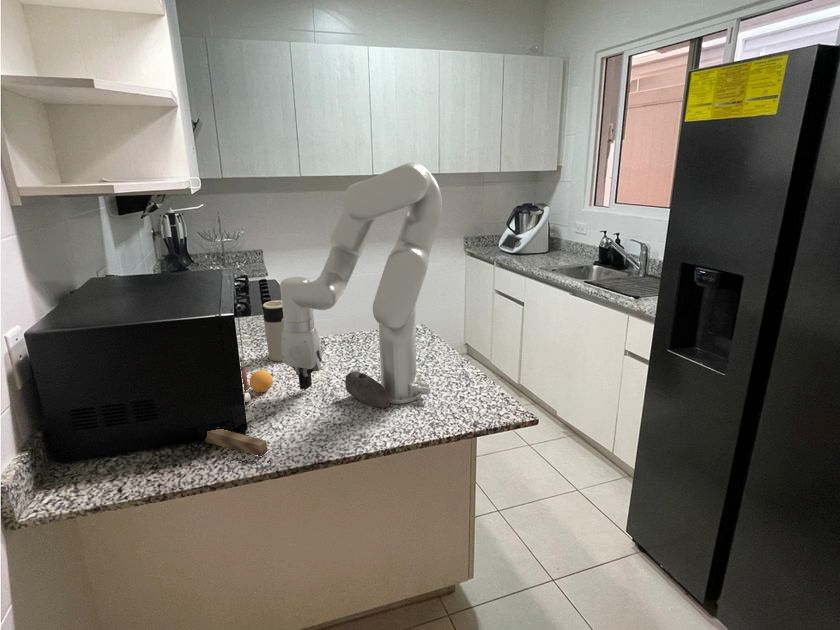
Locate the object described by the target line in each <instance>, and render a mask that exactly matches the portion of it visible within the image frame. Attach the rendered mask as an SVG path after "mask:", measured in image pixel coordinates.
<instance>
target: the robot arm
mask: <svg viewBox="0 0 840 630" xmlns="http://www.w3.org/2000/svg"><path fill="white" fill-rule="evenodd" d="M403 208H406V211H405V214H404V218H403V220H402V224H401V228H400V231H399V234H398V237H397V240H396V242H395V245H394V246H393V248H392V250H391V251H390V253H389V256H388V257H387V259H386V262H385V265H384V267H383V268H384V269H383V271H382V275H381V277H380V280H379V284H378V287H377V290H376V293H375V297H374V299H373V303H372V314H373V315H372V316H373V318H374V320H375V322H376V323H377V324H378V339H379V340H378V342H379V359H380V360H379V361H380V362H379V363H380V381H381V382H380V384H381V385H382V386H383V387H384V388H385V390H386V391H387V393H388V394H389V397H390V404H396V405H397V404H398V405H400V404H401V405H402V404H407V403H411V402H414V401H417V400H418V399H419V398H420V397H421V396H422V395H426V396H430V393H431V388H430V384H429V383H426V382H424V383H423V382H422V381H421V376H419V375H417V347H416V346H417V344H416V343H417V337H416V336H417V335H416V334H417V333H416V329H417V328H416V327H417V326H416V311H417V310H416V308H417V305H416V304H417V301H418V298H419V296H420V293H421V290H422V288H423V284H424V282H425V278H426V275H427V271H428V268H429V267H428V266H429V258H430V254H431V251H432V247H433V244H434V242H435V238H436V235H437V232H438V228H439V226H440V225H439V224H440V221H441V219H442V218H441V217H442V211H443V199H442V192H441V189H440V187H439V184H438V182H437V180H436V179H435V177H434V176H433V175H432V174H431V172H430V171H429V170H428V169H427V168H426V167H425V166H424V165H422V164H420V163H417V162H412V161H411V162H406V163H403V164H401V165H399V166H397V167H395V168H392V169H389V170H387V171H385V172H383V173H380V174H377V175H375V176H373V177H370V178H368V179H366V180H362V181H358V182H356V183H353V184H351V185H350V186H349V187H347V189H346V190H345V192H344V193H343V196H342V209H341V212H340V214H339V216H338V219H337V221H336V223H335V225H334V227H333V230H332V233H331V235H330V239H329V240H330V250H329V254H328V257H327V259H326V262H325V264H324V266H323V269H322V271H321V273H320V275H319V276H317V278H316V280H313V281H310V280H309V278H306V277H303V276H291V277H287V278H284V279H283V280H281V282H280V284H279V287H280V288H279V289H280V299H281V300H282V308H283V317H284V318H282V323H284V325H285V328H284V329H283V331H282V341H281V346H282V359H283V361H282V363H284V365H286V366H288V367H290V368H292V369H293V371H295V375H296V376H298V384H299V389H300V390H304V391H306V390H308V389H309V388H310V387H312V385H313V381H312V373H313V372H320V370H322V365H321V363H322V361H323V360H322V359H323V356H322V347H321V342H320V337H319V334H318V331H317V328H315V320H314V311H313V310H319V311H326V310H329V309H332V308H333V307H334V306H335V305H336V304H337V302H338V301H339V299H340V297H342V295H343V294H344V292H345V290H346V288H347V286H348V284H349V281H350V279H351V277H352V275H353V272H354V270H355V268H356V265H357V263H358V260H359V259H360V258H361V256H362V254H363V251H364V249H365V246H366V245H367V242H368V240H369V238H370V235H371V233H372V231H373V229H374V226H375V225H376V223H377V221H378V218H381V217H383V216H385V215H387V214H391V213H394V212H396V211H397V210H401V209H403Z"/></svg>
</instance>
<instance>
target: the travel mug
mask: <svg viewBox="0 0 840 630" xmlns="http://www.w3.org/2000/svg"><path fill="white" fill-rule="evenodd" d="M262 307H263V308H264V312H263V323H264V330H265V337H266V339H265V340H266V344H267V345H266V346H267V354H268V359H269V360H270V361H274V362H283V359H282V346H281V341H282V331H283V329H284V328H285V325H284V323H282V318H284V317H283V308H282V299H281V300H280V299H279V300H269V301H266V302H265V303H263V304H262Z"/></svg>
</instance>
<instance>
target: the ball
mask: <svg viewBox="0 0 840 630" xmlns="http://www.w3.org/2000/svg"><path fill="white" fill-rule="evenodd" d="M273 380H274V379H273V376H272V375H271V374H270V372H268V371H267V370H262V369H261V370H257V371H255V372H253V373H252V375H251V376H250V378H249V387H250V388H252V390H253V391H255V392H257V393H264V392H268V391H269V390H270V389H271V387H272V386H273Z"/></svg>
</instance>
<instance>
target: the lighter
mask: <svg viewBox="0 0 840 630" xmlns="http://www.w3.org/2000/svg"><path fill="white" fill-rule="evenodd" d="M239 357H240V362H241V371H242V379H243V384H244V390H245V392H247V391H246V390H248V389H249V390H250V384H248V375H247V371H246V370H247V369H246V368H247V365H246V363H244V362H243V357H242V356H239ZM249 390H248V391H249Z"/></svg>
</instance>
